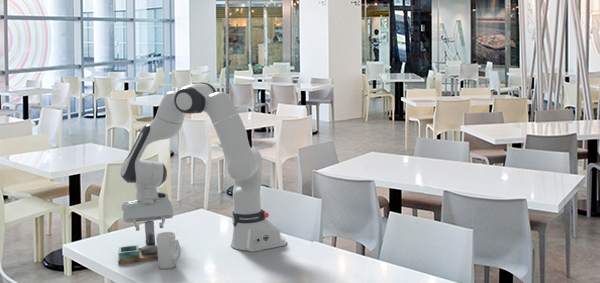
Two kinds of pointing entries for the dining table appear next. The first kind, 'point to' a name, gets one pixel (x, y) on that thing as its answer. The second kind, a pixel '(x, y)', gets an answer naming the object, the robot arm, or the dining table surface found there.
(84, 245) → the dining table surface
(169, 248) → the mug
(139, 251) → the nut block
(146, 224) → the pin
